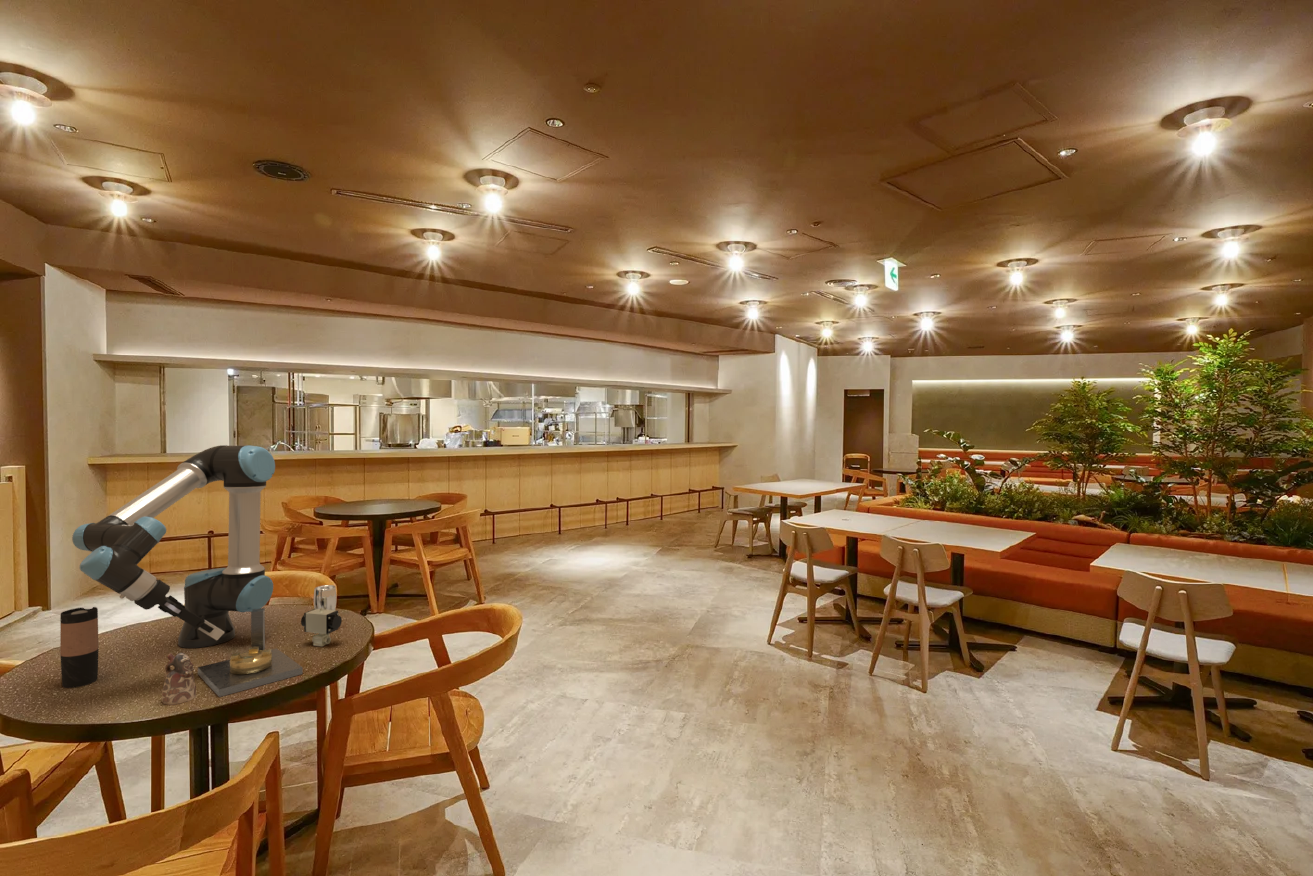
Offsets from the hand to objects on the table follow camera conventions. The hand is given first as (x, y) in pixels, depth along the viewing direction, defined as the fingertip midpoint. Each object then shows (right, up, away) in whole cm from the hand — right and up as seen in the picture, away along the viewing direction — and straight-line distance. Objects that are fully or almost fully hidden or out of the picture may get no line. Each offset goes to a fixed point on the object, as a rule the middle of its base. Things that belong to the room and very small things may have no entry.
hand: (220, 635), depth 176 cm
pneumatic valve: (+18, -10, +22) cm, 30 cm away
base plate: (+10, -10, -2) cm, 15 cm away
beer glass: (+11, -10, +36) cm, 39 cm away
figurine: (+2, -11, -18) cm, 21 cm away
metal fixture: (+9, -8, +1) cm, 12 cm away
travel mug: (-33, -10, -8) cm, 35 cm away
